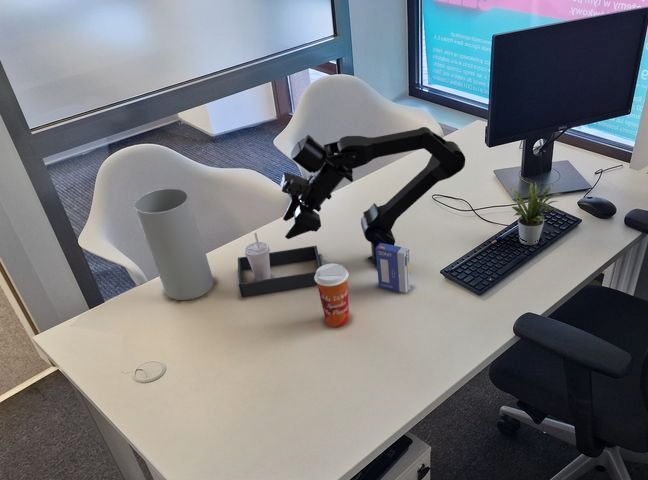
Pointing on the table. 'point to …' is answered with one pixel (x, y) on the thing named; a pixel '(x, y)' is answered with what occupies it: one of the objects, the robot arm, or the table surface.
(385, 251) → the walkman
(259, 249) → the smoothie
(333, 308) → the paper cup
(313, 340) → the table surface
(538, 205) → the house plant
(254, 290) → the rectangular tray
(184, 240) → the cylinder vase
